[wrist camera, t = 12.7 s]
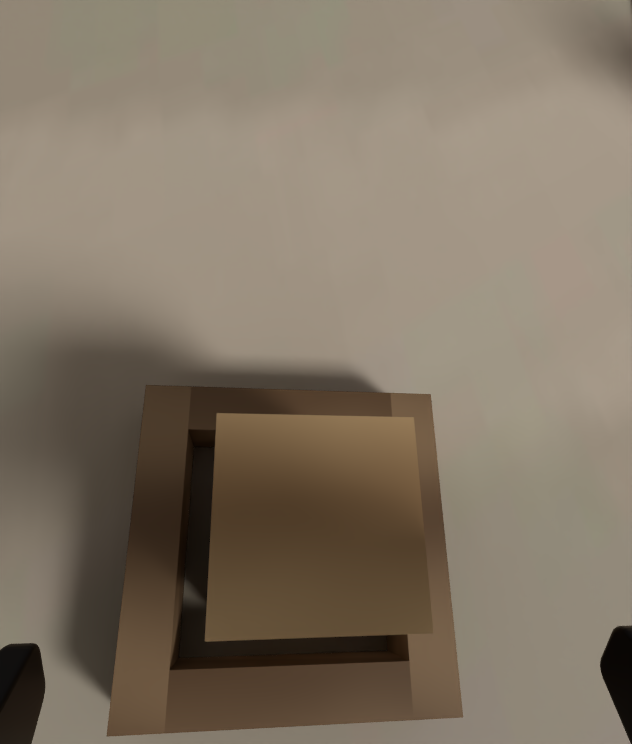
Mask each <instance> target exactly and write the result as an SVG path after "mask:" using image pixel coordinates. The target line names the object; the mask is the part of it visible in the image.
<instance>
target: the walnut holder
mask: <svg viewBox="0 0 632 744" xmlns="http://www.w3.org/2000/svg"><path fill="white" fill-rule="evenodd" d="M217 413H235V414H282V415H330V416H377V417H414V424H415V435H416V446H417V457H418V468H419V479H420V490H421V501H422V512H423V523H424V534H425V545H426V556H427V567H428V578H429V589H430V600H431V611H432V622H433V633H430V634H402V635H387V651H361V652H332V653H304V654H275V655H247V656H218V657H190V658H179V646H180V632H181V618H182V605H183V591H184V577H185V563H186V549H187V536H188V522H189V508H190V494H191V480H192V467H193V453H194V447H215V436H216V417H217ZM459 717H463V712H462V702H461V692H460V682H459V672H458V662H457V652H456V642H455V632H454V622H453V612H452V602H451V592H450V582H449V572H448V562H447V552H446V543H445V533H444V523H443V513H442V503H441V493H440V483H439V473H438V463H437V453H436V443H435V433H434V423H433V413H432V403H431V394H406V393H375V392H344V391H313V390H282V389H251V388H221V387H190V386H159V385H146V389H145V398H144V407H143V416H142V425H141V434H140V443H139V452H138V460H137V469H136V478H135V487H134V496H133V505H132V514H131V523H130V532H129V541H128V550H127V559H126V568H125V577H124V586H123V595H122V604H121V613H120V622H119V631H118V640H117V649H116V657H115V666H114V675H113V684H112V693H111V702H110V711H109V720H108V729H107V736H123V735H142V734H161V733H179V732H198V731H217V730H235V729H254V728H273V727H291V726H310V725H329V724H347V723H366V722H385V721H403V720H422V719H441V718H459Z"/></svg>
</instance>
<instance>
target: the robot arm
mask: <svg viewBox="0 0 632 744" xmlns="http://www.w3.org/2000/svg"><path fill="white" fill-rule="evenodd" d="M600 667H601V673H602V676H603V679H604V681H605V684H606V686H607V689H608V691H609V693H610V696H611V698H612V700H613V703H614V705H615V707H616V710H617V712H618V714H619V717H620V719H621V721H622V724H623V726H624V728H625V731H626V733H627V736H628V738H629V740H630V743H631V744H632V626H618V627H616V628H615V629H614V630H613V632H612V634H611V636H610V638H609V641H608V643H607V646H606V648H605V650H604V653H603V655H602V657H601V662H600ZM44 694H45V678H44V671H43V665H42V659H41V653H40V649H39V647H38V645H37V644H34V643H24V644H9V645H7V646H5V647H3V648H2V649H1V650H0V744H31V743H32V740H33V736H34V732H35V729H36V725H37V721H38V718H39V714H40V710H41V707H42V703H43V699H44Z"/></svg>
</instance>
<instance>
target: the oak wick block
mask: <svg viewBox="0 0 632 744" xmlns="http://www.w3.org/2000/svg"><path fill="white" fill-rule="evenodd" d="M430 633H433V622H432V611H431V600H430V589H429V578H428V567H427V556H426V545H425V534H424V523H423V512H422V501H421V490H420V479H419V468H418V457H417V446H416V435H415V424H414V417H377V416H330V415H282V414H235V413H217V417H216V436H215V455H214V475H213V494H212V513H211V532H210V551H209V570H208V589H207V608H206V627H205V642H210V641H237V640H265V639H292V638H320V637H347V636H375V635H402V634H430Z"/></svg>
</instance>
